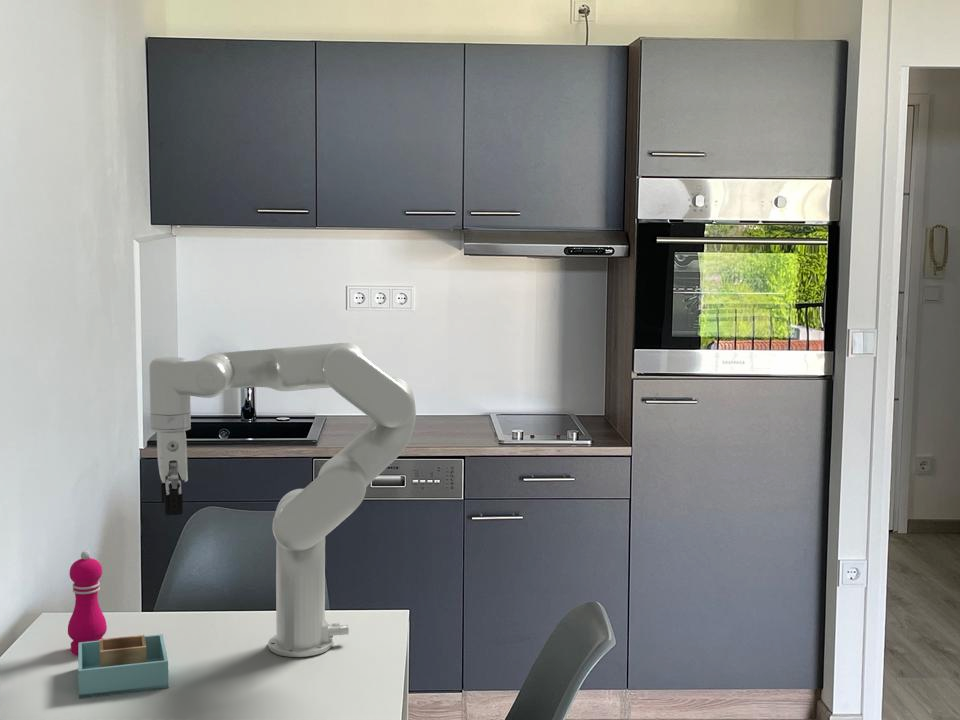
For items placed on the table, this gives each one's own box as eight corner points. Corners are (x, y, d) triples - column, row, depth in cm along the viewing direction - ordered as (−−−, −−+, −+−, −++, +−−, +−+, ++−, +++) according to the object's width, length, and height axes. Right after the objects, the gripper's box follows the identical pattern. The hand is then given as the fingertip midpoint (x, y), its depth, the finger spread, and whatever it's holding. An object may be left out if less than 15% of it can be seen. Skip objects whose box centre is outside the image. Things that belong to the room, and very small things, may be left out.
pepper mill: (94, 658, 214) (92, 557, 212) (60, 655, 215) (57, 554, 213) (114, 645, 221) (112, 547, 219) (81, 642, 222) (78, 544, 220)
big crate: (163, 659, 214) (162, 634, 214) (168, 687, 201) (168, 661, 200) (79, 668, 209) (78, 642, 209) (79, 698, 196) (78, 671, 195)
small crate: (144, 665, 210) (144, 634, 209) (146, 678, 204) (146, 647, 203) (100, 670, 207) (99, 639, 206) (100, 683, 201) (99, 651, 200)
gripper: (194, 428, 208) (196, 518, 210) (186, 413, 224) (187, 497, 226) (153, 430, 205) (154, 521, 207) (147, 415, 221) (149, 499, 223)
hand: (171, 508), depth 216 cm, fingers open, 9 cm apart
